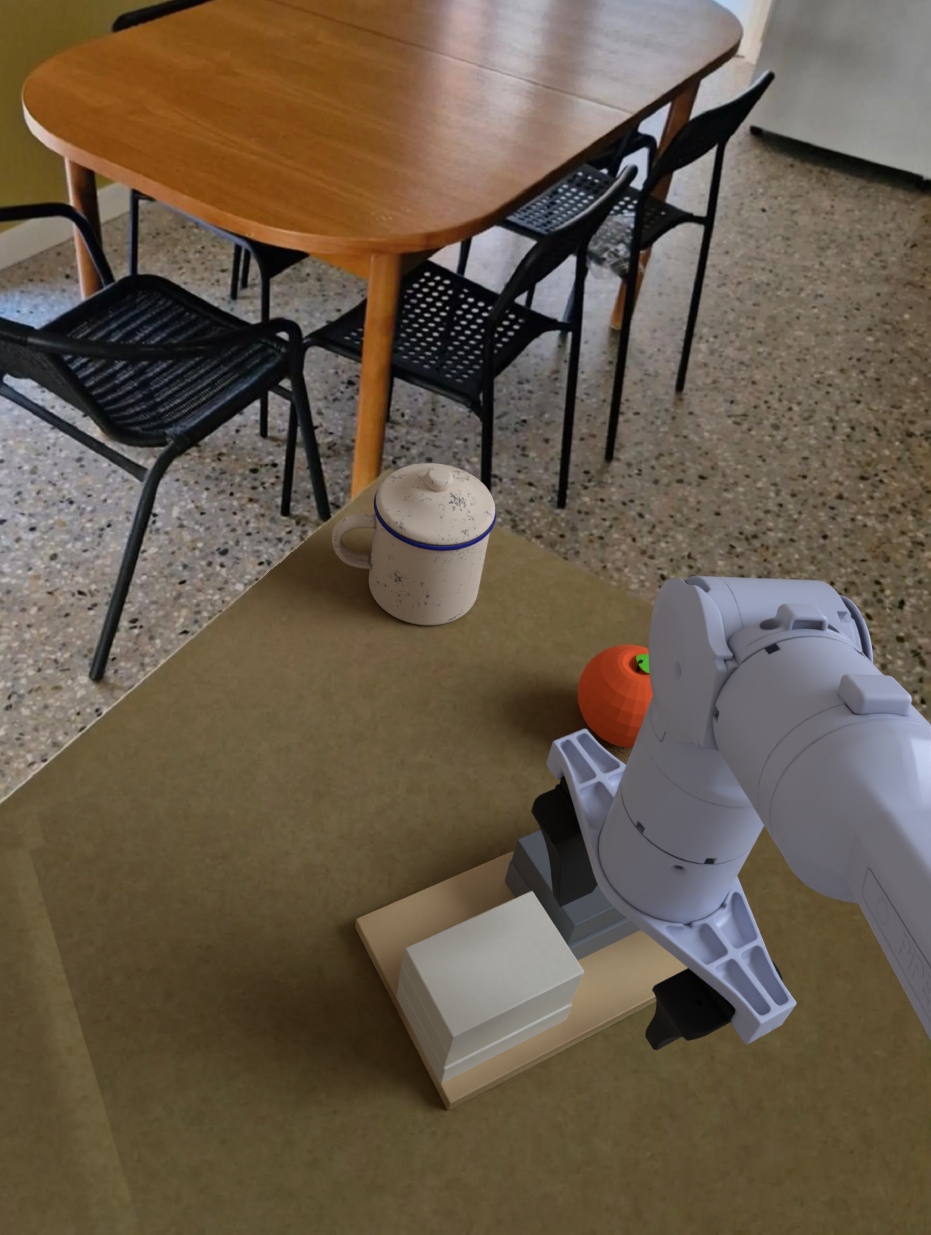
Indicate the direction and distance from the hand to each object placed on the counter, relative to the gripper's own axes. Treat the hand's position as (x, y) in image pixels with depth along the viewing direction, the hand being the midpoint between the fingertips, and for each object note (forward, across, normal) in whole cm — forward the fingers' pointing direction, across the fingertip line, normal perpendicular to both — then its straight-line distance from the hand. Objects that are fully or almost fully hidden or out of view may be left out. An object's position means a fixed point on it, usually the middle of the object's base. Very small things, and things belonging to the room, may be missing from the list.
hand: (617, 961), depth 55 cm
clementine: (+10, +17, -16) cm, 25 cm away
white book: (+5, +4, +4) cm, 8 cm away
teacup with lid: (+10, +35, -8) cm, 37 cm away
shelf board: (+10, +6, -1) cm, 11 cm away
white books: (+9, +4, +4) cm, 10 cm away
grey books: (+9, +7, -6) cm, 13 cm away
